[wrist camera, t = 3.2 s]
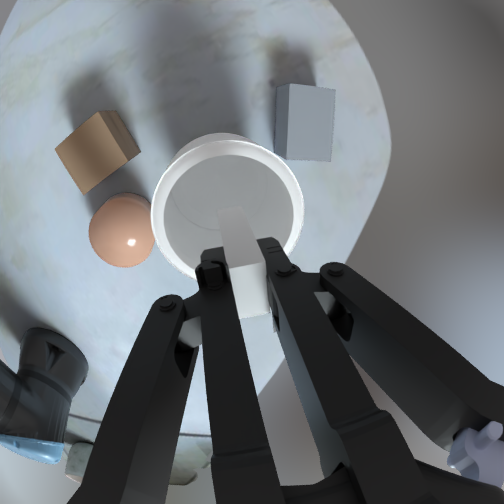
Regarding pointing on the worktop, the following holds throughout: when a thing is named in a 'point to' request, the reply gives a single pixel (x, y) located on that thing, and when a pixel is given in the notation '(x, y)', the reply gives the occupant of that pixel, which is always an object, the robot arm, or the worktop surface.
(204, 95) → the worktop surface
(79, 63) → the worktop surface
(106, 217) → the glossy peach dome
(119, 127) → the walnut block
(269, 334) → the worktop surface
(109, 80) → the worktop surface
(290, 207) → the jar
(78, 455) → the planter
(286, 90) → the slate block
